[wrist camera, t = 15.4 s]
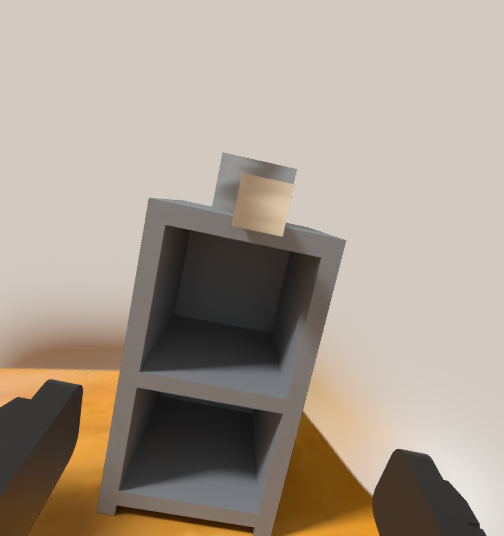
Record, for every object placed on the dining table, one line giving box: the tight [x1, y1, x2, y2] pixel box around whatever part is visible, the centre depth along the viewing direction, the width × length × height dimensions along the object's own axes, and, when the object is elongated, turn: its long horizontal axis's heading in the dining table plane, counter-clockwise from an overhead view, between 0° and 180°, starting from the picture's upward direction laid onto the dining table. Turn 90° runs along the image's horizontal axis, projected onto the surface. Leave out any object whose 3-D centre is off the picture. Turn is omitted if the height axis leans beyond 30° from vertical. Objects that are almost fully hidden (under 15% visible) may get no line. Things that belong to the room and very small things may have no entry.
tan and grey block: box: [212, 153, 297, 237], centre depth 32 cm, size 8×28×6 cm, turn 2°
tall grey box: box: [96, 198, 346, 536], centre depth 46 cm, size 18×20×32 cm
